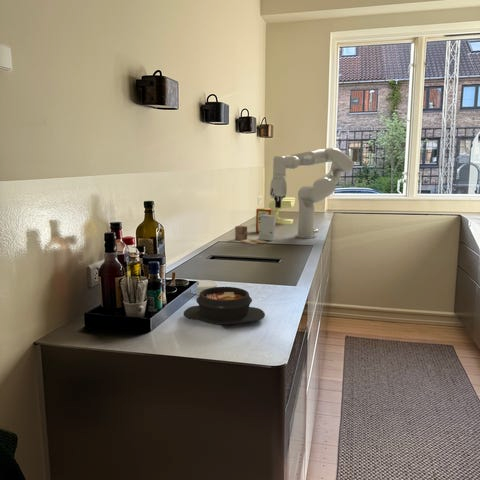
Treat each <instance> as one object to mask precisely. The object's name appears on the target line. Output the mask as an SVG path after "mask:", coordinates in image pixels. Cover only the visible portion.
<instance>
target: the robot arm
mask: <svg viewBox="0 0 480 480" xmlns="http://www.w3.org/2000/svg"><path fill="white" fill-rule="evenodd" d="M272 160H273V164H272V165H273V166H272V179H271V181H270V187H269V196H270V198H271V199H273V201H275V207H276V208H281V201H282V199H283V198H285V197H286V195H287V187H288V186H287V185H288V184H287V179H286V178H287V175H286V172H287V170H286V169H288V170H289V169H290V170H291V169H293V170H295V169H298V167H299V166H308V167H309V166H314V165H320V164H324V163H325V164H326V163H330V170H329V172H328V173H326V174H325V175H322V176H321V177H319V178H318V179H316V180H315V181H314V182H313V184H312V185H311V186H310V185H304V186H301V187H299V189H298V193H297V199H298V222H297V223H298V225H297V226H298V227H297V228H298V229H297V233H295V237H296V238H303V239H312V238H314V239H315V238H316V235H317V234H316V233H319V229H314V225H315V224H314V223H315V203H316V204H317V203H319V202H321V201H323V200H324V199H326V198H327V197H329V196H331V195H332V194H333V193H334V192H335V191H336V189H337V184H338V183H339V182H340V180H341V176H342V173H350V172H351V171H352V170H353V169H354V166H355V165H354V161H353V160H352V159H351V158H350V157H349V156H348V155H347V154H345V153H344V152H343V151H341V149H339V148H336V147H325V148H321V149H316V150H310V151H305V152H300V153H294V154H289V155H285V156H283V155H275V156H274V157H273V159H272ZM281 209H282V208H281Z"/></svg>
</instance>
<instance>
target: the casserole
mask: <svg viewBox="0 0 480 480" xmlns="http://www.w3.org/2000/svg"><path fill="white" fill-rule="evenodd" d="M252 302H253V299H252V297H250V294H249V292H248V291H247V290H246V289H243V288H239V287H233V286H217V287H213V288H208V289H205V290H203V291H201V292H200V294H199V295H198V297H197V298H196V303H197V304H198V305H193V306H190V307H188V308H187V309H185V310H184V311H183V313H182V314H183V317H185V319H188V320H193V321H199V322H202V323H207V324H211V325H216V326H233V325H237V324H243V323H254V322H255V323H256V322H259V321H261V320H263V319H264V318H265V316H266V314H265V312H264V310H262V309H261V308H258V307H255V306H253V307H252V306H250V305H251V304H252Z"/></svg>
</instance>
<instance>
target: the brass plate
mask: <svg viewBox="0 0 480 480" xmlns="http://www.w3.org/2000/svg"><path fill="white" fill-rule="evenodd" d="M238 241H239V242H241V243H245V244H246V243H247V244H249V245H255V244H258V245H259V244H263V243H264V244H265V243H269V240H260V239H259V238H247V240H238Z"/></svg>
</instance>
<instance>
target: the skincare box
mask: <svg viewBox="0 0 480 480" xmlns="http://www.w3.org/2000/svg"><path fill="white" fill-rule="evenodd" d="M275 221H276V216H273V215H264V214H263V215H261V221H260V231H259V233H258V239H260V240H264V241H274V239H275V238H274V237H275V232H276V231H275V229H276V223H275Z"/></svg>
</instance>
